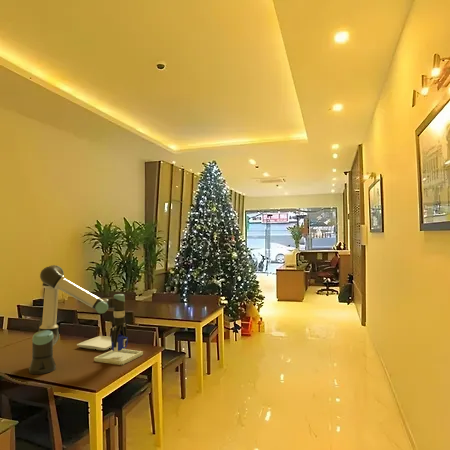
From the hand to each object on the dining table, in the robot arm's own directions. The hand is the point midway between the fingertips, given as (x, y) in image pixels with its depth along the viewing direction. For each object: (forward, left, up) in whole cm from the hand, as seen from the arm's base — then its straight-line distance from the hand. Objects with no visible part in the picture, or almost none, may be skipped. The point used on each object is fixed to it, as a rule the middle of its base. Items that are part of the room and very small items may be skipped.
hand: (119, 350), depth 256 cm
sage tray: (0, 0, -5) cm, 5 cm away
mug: (0, 0, 0) cm, 1 cm away
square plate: (+21, +32, -6) cm, 39 cm away
